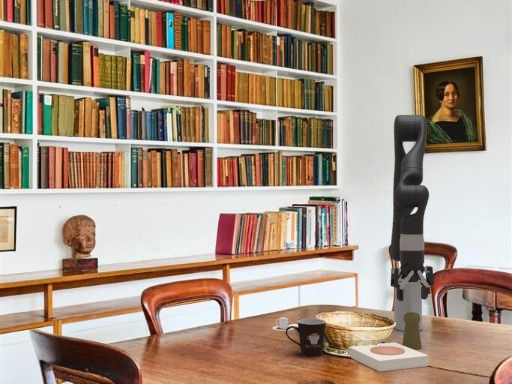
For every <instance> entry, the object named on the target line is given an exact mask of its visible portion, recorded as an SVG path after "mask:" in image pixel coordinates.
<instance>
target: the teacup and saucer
mask: <svg viewBox="0 0 512 384" xmlns="http://www.w3.org/2000/svg"><path fill="white" fill-rule="evenodd" d="M288 320H289V318H288V317H284V316H282V317H279V318H277V319H275V323H276V325H277V326H273V327H272V330H273V331H279V332H280V331H285V332H286V329H287V328H288V327H290V326H295V327H298V323H292V324H289V325H288V322H289V321H288ZM278 323H279V324H278ZM277 328H280V329H277ZM292 330H296V329H295V328H290V329H289V330H288V331H289V332H290V331H292ZM288 331H287V332H288Z"/></svg>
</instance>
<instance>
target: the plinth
mask: <svg viewBox="0 0 512 384" xmlns="http://www.w3.org/2000/svg"><path fill="white" fill-rule="evenodd" d="M376 344H377V345H372V344H367V345H368V346H362V345H353V346H348V356H349V355H350V356H351V359H352V360H355V361H357V362H359V363H360V364H362V365H365V366H366V367H369V368H371V369H373V370H375V371H377V372H381V373H382V372H388V371H397V370H405V369H414V368H415V369H416V368H424V367H430V366H429V363H430V361H429V354H426V353H424V352H420V351H419V350H413V349H411V348H408V347H406V346H403V344H400V343H398V342H394V341H393V342H392V341H391V342H384V343H376Z"/></svg>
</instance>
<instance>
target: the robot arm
mask: <svg viewBox="0 0 512 384" xmlns="http://www.w3.org/2000/svg"><path fill="white" fill-rule="evenodd" d="M427 122H428V121H427V118H426V117H425V115H422V114H421V115H420V114H398V115H396V116H395V118H394V122H393V145H394V146H393V149H394V165H393V166H394V169H393V185H392V186H393V189H392V191H393V192H392V206H393V207H392V208H393V209H392V211H393V212H392V213H393V214H392V227H391V228H392V229H391V237H390V238H391V239H390V255H391V258H392V260H393V261H395V262H399V264H400V266H399V268H398V267H391V269H390V287H393V288H395V289H394V291H395V293H394V294H395V295H394V299H395V300H394V303H393V307H394V309H393V311H394V313H393V320H394V321H395V322H396V326H395V327H394V328H395V330H397V331H402V332H404V330H405V322H404V318H403V317H404V315H405V314H406V313H409V312H413V313H418V314H419V315H420V322H419V331H420V332H421V331H422V330H423V300H427V299H428V296H429V287H430V286H433V285H434V281H435V280H434V267H433V266H430V265H424V264H425V236H424V219H425V212H426V209H427V207H428V202H429V200H430V191H429V189H428V188H427V186H426V185H422V183H423V181H424V180H423V179H424V158H425V157H424V156H425V150H426V144H427V135H428V123H427ZM407 142H408V143H414V144H413V146H412V147H411V149H409V150H408V152H407V153H406V150H405V147H404V143H407ZM415 208H417V210H416V211H415V212H414V213H413V211H414V210H415ZM424 273H425V276H424ZM394 321H393V322H394Z"/></svg>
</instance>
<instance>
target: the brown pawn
mask: <svg viewBox="0 0 512 384" xmlns="http://www.w3.org/2000/svg"><path fill="white" fill-rule="evenodd" d="M403 318H404V322H405V330H404V331H403V336H402V337H403V338H402V345H403V346H406V347H408V348H411V349H413V350H416V351H419V350H421V349H422V347H423V346H422V341H421V340H422V339H421V338H422V337H421V330H420V331H419V322H420V315H419V314H418V313H413V312H409V313H406V314H405V315H404V317H403Z"/></svg>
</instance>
